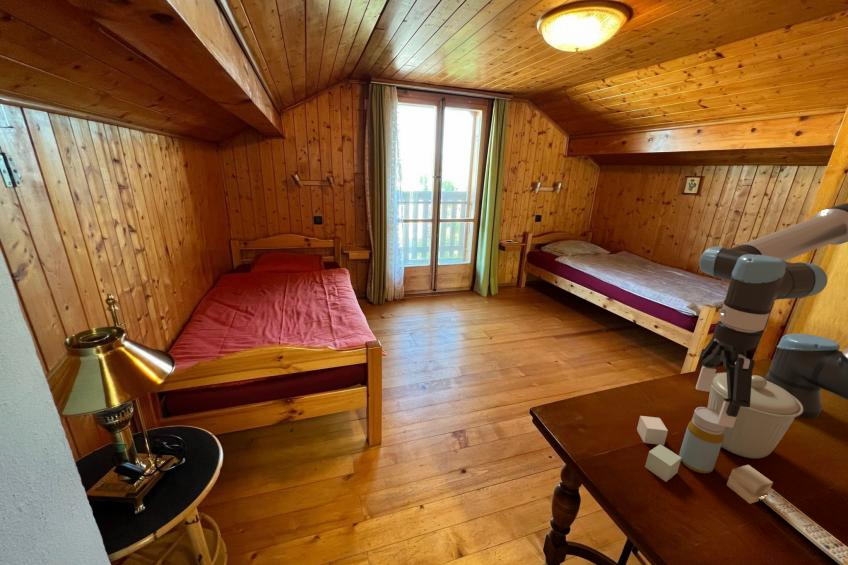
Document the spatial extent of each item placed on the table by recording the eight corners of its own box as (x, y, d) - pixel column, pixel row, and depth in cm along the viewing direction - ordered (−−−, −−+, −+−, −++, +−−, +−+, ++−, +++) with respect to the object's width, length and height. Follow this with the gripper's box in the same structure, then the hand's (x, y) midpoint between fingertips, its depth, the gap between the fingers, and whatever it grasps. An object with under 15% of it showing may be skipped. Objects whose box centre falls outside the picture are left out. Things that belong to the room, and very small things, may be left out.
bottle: (718, 477, 85) (736, 427, 80) (686, 472, 86) (702, 423, 81) (703, 455, 91) (718, 407, 87) (673, 450, 93) (687, 404, 88)
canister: (707, 458, 90) (730, 390, 84) (685, 414, 106) (703, 353, 100) (797, 479, 84) (830, 407, 78) (759, 428, 101) (783, 365, 94)
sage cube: (655, 459, 90) (660, 444, 89) (676, 473, 86) (681, 457, 85) (644, 467, 88) (649, 451, 86) (665, 482, 84) (670, 466, 82)
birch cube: (742, 480, 84) (748, 464, 83) (765, 498, 80) (773, 482, 78) (726, 485, 83) (732, 469, 81) (749, 504, 78) (756, 487, 77)
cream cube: (655, 432, 99) (659, 417, 98) (663, 445, 95) (668, 430, 93) (636, 430, 100) (640, 415, 99) (643, 443, 96) (647, 428, 94)
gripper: (698, 303, 89) (678, 375, 95) (745, 349, 66) (714, 438, 73) (735, 307, 86) (711, 380, 93) (796, 356, 64) (758, 448, 71)
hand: (712, 406), depth 83 cm, fingers open, 13 cm apart
